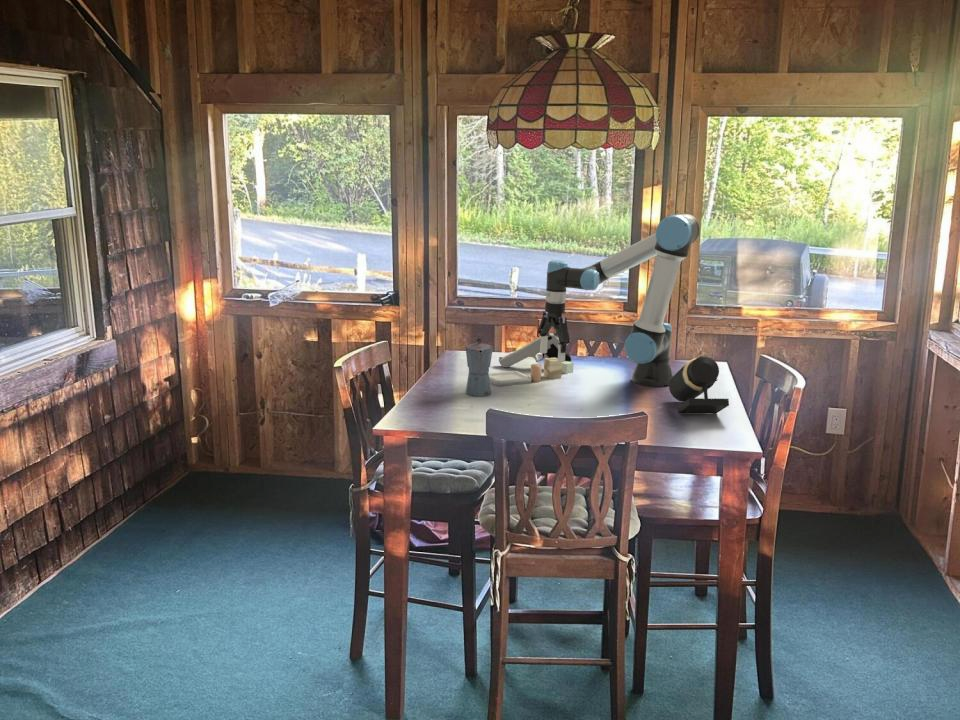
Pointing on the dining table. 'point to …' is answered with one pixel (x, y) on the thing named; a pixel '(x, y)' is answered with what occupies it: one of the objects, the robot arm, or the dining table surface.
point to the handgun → (534, 351)
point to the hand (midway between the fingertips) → (552, 356)
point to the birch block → (552, 368)
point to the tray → (508, 378)
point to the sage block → (567, 367)
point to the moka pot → (478, 368)
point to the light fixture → (696, 386)
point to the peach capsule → (536, 373)
